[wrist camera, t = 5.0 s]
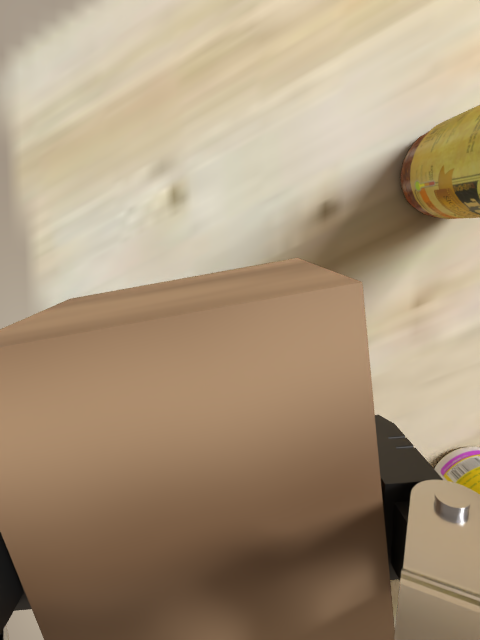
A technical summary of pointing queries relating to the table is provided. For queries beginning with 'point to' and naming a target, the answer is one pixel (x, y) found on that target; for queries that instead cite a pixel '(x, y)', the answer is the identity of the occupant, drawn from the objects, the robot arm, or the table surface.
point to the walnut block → (197, 461)
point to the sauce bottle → (446, 169)
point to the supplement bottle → (461, 467)
